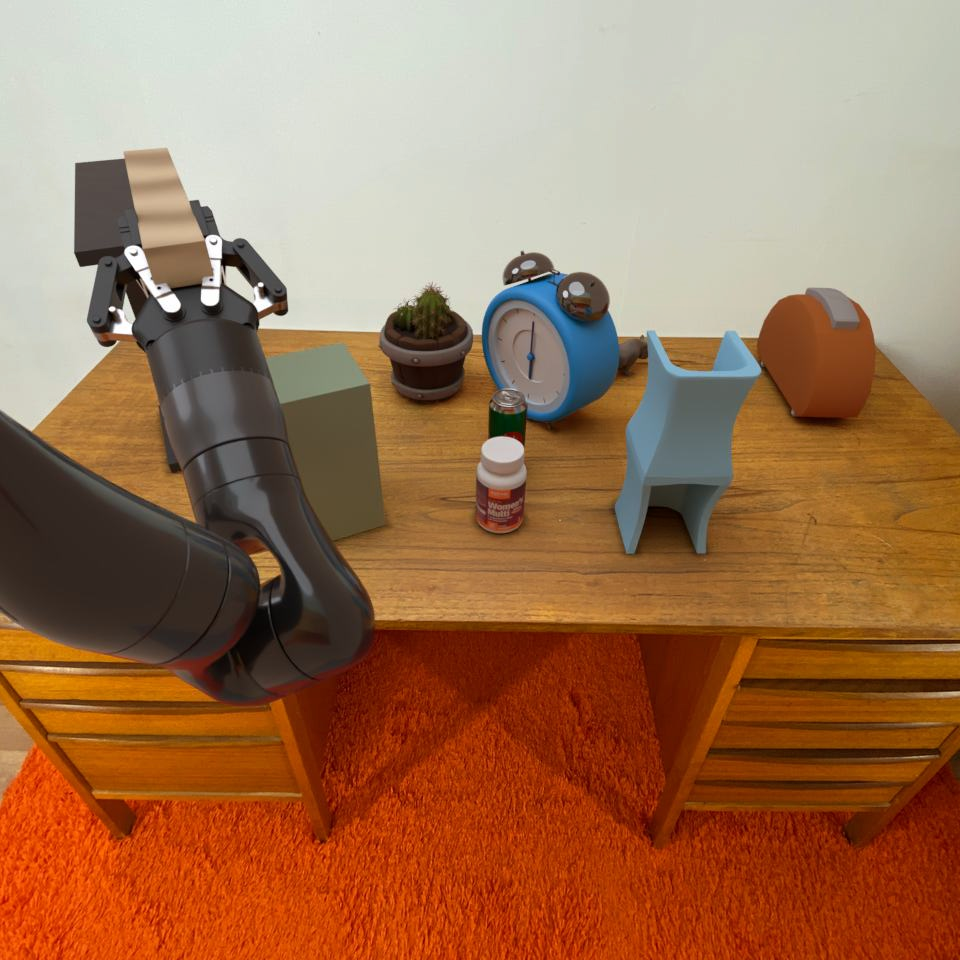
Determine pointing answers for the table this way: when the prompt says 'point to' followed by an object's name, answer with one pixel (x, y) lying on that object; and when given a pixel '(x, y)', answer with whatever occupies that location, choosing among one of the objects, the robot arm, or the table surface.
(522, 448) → the pill bottle
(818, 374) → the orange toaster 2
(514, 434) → the soda can
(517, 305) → the alarm clock
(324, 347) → the green block
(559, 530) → the table surface
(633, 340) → the rhino figurine
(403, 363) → the flowerpot
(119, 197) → the stand
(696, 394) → the blue doll chair
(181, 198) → the ash stick
